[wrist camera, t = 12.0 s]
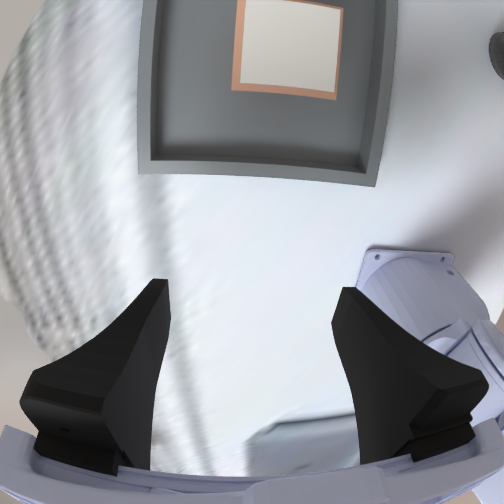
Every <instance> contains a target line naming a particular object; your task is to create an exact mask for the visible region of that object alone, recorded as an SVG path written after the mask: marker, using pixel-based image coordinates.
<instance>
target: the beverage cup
mask: <svg viewBox="0 0 504 504" xmlns="http://www.w3.org/2000/svg"><path fill="white" fill-rule="evenodd" d="M489 54H490V59H491V62H492V65H493V67H494V69H495V71H496V72H497V74H498V75H499V76H500V77H501V78H502V79H503V80H504V32H502V33H496V34H494V35H493V36H492V38H491V39H490V43H489Z"/></svg>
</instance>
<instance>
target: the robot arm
mask: <svg viewBox="0 0 504 504" xmlns="http://www.w3.org/2000/svg"><path fill="white" fill-rule="evenodd" d="M377 254H379V255H378V256H377V257H375V256H376V255H377ZM442 257H443V258H442ZM441 258H442V259H441ZM453 261H454V255H453V254H452V253H441V252H421V251H400V250H379V249H370V250H368V251H367V252H366V254H365V257H364V261H363V264H362V268H361V271H360V275H359V278H358V281H357V285H356V287H343V288H342V291H341V294H340V297H339V301H338V304H337V307H336V310H335V313H334V316H333V319H332V322H331V324H332V330H333V335H334V340H335V344H336V347H337V350H338V353H339V356H340V359H341V362H342V365H343V368H344V371H345V374H346V377H347V379H348V382H349V386H350V389H351V393H352V398H353V403H354V409H355V415H356V421H357V428H358V437H359V448H360V465H359V466H353V467H348V468H342V469H335V470H328V471H321V472H313V473H303V474H292V475H279V476H256V477H221V476H198V475H185V474H174V473H165V472H156V471H150V451H151V432H152V420H153V409H154V400H155V391H156V386H157V381H158V377H159V373H160V369H161V365H162V361H163V357H164V353H165V349H166V345H167V341H168V336H169V329H170V321H171V313H170V301H169V287H168V279H154V278H153V279H152V280H151V281H150V282H149V283H148V285H147V286H146V287H145V288H144V289H143V291H142V292H141V293H140V294H139V295H138V296H137V297H136V299H135V300H134V301H133V302H132V303H131V304H130V305H129V306H128V307H127V308H126V309H125V310H124V311H123V312H122V313H121V314H120V315H119V316H118V317H117V318H116V319H115V320H114V321H113V322H112V323H111V324H110V325H109V326H108V327H107V328H105V329H104V330H103V331H102V332H101V333H99V334H98V335H97V336H96V337H94V338H93V339H91V340H90V341H88V342H87V343H85V344H84V345H82V346H81V347H80V348H78V349H76V350H75V351H73V352H71V353H70V354H68V355H66V356H64V357H62V358H60V359H59V360H57V361H54V362H52V363H50V364H48V365H46V366H43V367H41V368H39V369H36V370H34V371H33V372H32V374H31V376H30V378H29V380H28V382H27V384H26V387H25V389H24V391H23V394H22V396H21V399H20V406H21V408H22V410H23V411H24V413H25V414H26V416H27V417H28V418H29V420H30V421H31V422H32V423H33V424H34V426H35V427H36V428H37V429H38V430H39V432H38V435H37V438H36V437H34V436H33V435H31V434H29V433H26V432H24V431H21V430H18V429H16V428H13V427H11V426H8V425H5V426H4V429H3V431H2V434H1V437H0V489H1V490H3V491H4V492H6V493H7V494H9V495H10V496H12V497H14V498H15V499H17V500H19V501H20V502H22V503H24V504H442V503H445V502H447V501H449V500H451V499H453V498H455V497H457V496H459V495H461V494H463V493H465V492H467V491H469V490H472V491H473V492H474V493H475V495H476V496H477V498H478V499H479V501H480V502H481V503H482V504H504V334H503V333H502V332H501V331H500V329H499V328H498V327H496V325H495V324H493V323H492V322H491V321H490V317H489V313H488V310H487V307H486V305H485V303H484V302H483V300H482V299H481V298H480V297H479V295H478V294H477V293H476V292H475V291H474V290H473V288H472V287H471V286H470V285H469V284H468V283H467V282H466V280H465V279H464V278H463V277H462V276H461V275H460V274H459V273H458V272H457V270H456V269H455V268H454V267H453V266H452V263H453Z"/></svg>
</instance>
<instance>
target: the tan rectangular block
mask: <svg viewBox="0 0 504 504" xmlns="http://www.w3.org/2000/svg"><path fill="white" fill-rule="evenodd" d="M342 24H343V8H341V7H336V6H331V5H326V4H321V3H315V2H310V1H303V0H237V13H236V26H235V39H234V54H233V69H232V86H231V90H235V91H255V92H269V93H281V94H291V95H300V96H309V97H316V98H324V99H330V100H336V96H337V86H338V76H339V65H340V52H341V39H342Z"/></svg>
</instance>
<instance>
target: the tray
mask: <svg viewBox="0 0 504 504" xmlns="http://www.w3.org/2000/svg"><path fill="white" fill-rule="evenodd" d="M303 1H310V2H315V3H321V4H326V5H331V6H336V7H341V8H343V24H342V39H341V52H340V65H339V76H338V86H337V96H336V100H330V99H324V98H316V97H309V96H300V95H291V94H281V93H269V92H255V91H235V90H231V86H232V69H233V54H234V39H235V26H236V13H237V0H144V1H143V9H142V19H141V30H140V43H139V59H138V83H137V152H138V174H207V175H234V176H254V177H271V178H285V179H298V180H310V181H321V182H332V183H342V184H351V185H360V186H368V187H375V185H376V180H377V175H378V170H379V165H380V159H381V154H382V148H383V143H384V137H385V130H386V124H387V117H388V111H389V103H390V96H391V87H392V79H393V69H394V59H395V47H396V33H397V14H398V0H303Z"/></svg>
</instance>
